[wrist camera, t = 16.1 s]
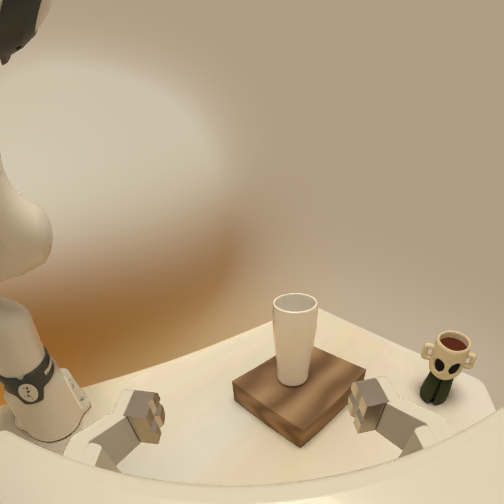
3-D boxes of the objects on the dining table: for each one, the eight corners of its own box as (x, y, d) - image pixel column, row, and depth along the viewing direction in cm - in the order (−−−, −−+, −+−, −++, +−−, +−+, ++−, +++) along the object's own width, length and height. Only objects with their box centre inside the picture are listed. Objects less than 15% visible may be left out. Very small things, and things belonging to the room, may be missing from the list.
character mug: (404, 400, 40) (424, 344, 37) (413, 377, 45) (430, 324, 42) (453, 412, 33) (480, 357, 30) (458, 389, 38) (480, 335, 35)
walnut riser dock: (234, 399, 46) (232, 381, 45) (299, 358, 57) (300, 339, 56) (300, 447, 34) (303, 430, 33) (361, 388, 46) (366, 369, 44)
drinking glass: (296, 361, 49) (299, 289, 45) (319, 380, 43) (327, 303, 39) (265, 374, 46) (263, 299, 42) (287, 396, 40) (290, 317, 36)
